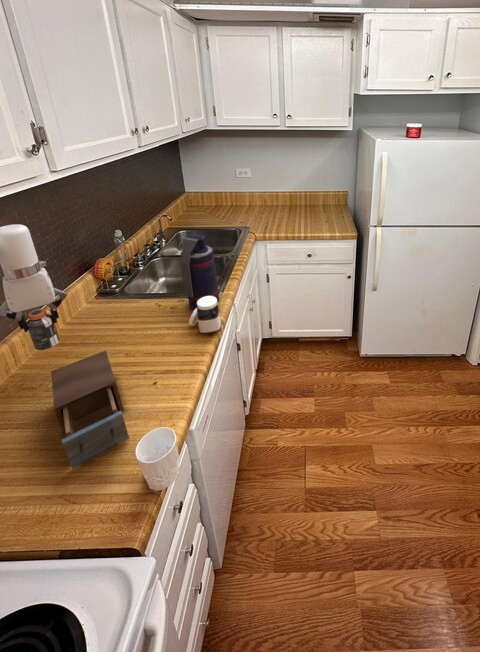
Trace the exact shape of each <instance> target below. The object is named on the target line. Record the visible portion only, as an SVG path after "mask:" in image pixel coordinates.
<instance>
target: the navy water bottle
mask: <svg viewBox="0 0 480 652" xmlns="http://www.w3.org/2000/svg"><path fill="white" fill-rule="evenodd" d="M181 244H182V245H181ZM180 246H181V248H180ZM178 249H179V250H180V251H181V252H180V260H179V261H180V265H179V266H180V269H181V270H180V271H181V279H182V286H183V291H184V296H186V297H187V300H188V306H189V307H190V309H191V308H192V309H194V310H195V309H196V308H197V301H198V300H199V299H200V298H202V297H205V296H214V297H216V298H217V303H218V304H219V301H220V295H219V285H218V278H217V269H216V268H217V267H216V261H215V252H214V248H213V247H212V246H210V245H208V244H207V236H205V235H200V234H195V233H193V234H189V235H185V237H183V238H182V240H181V241H180V242H179V244H178Z"/></svg>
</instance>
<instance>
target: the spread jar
mask: <svg viewBox="0 0 480 652" xmlns="http://www.w3.org/2000/svg"><path fill="white" fill-rule="evenodd" d="M220 310H221V309H220V305H219V302H218V303H217V298H216V297H214V296H205V297H202V298H200V299H199V300H198V301H197V308H196V309H194V310H193V311H192V313H191V315H190V316H189V317H190V318H189V319H188V325H189V326H192V327H194V326H195V325H196V324H198V329H199V332H200V333H201V334H203V335H211V334H214V333H217V332H218V331H220V330H221V327H222V318H221V311H220Z"/></svg>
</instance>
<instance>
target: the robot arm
mask: <svg viewBox="0 0 480 652" xmlns="http://www.w3.org/2000/svg"><path fill="white" fill-rule="evenodd" d="M38 257H39V256H38V254H37V251H36V248H35V245H34V241H33V239H32V236H31V232H30V230H29V227H27V226H26V225H24V224H7V225H3V226H0V267H1V270H2V273H3V275H4V276H3V277H2V287H3V292H4V298H5V301H3V303H2V304H1V306H0V316H2V317H6V318H8V319H11V320H15V322H17V323H18V326H19V329H20V330H23V331H24V333H28V332H29V330H28V327H27V322H28V321H27V319H26V317H25V315H24V314H23V313H24V311H29V310H31V309H34V308H39V307H42V306H47V307H48V308H49V310H50V315H51V316H52V319H53V322H54V323H55V324H57V323H58V319H60V315H59V312H58V308H59V307H60V305H61V304H62V303H63V301H64V300H65V299H66V298H67V297H68V293H67V292H66V291H63V290H61V289H58V288H56V287H54V285H53V282H52V279H51V278H50V275H49V273H48V271H47V269H45V267H46V266H48V264H47V260H43V261H42V260H39V258H38ZM56 296H58V297H57V298H56ZM8 309H9V310H8Z"/></svg>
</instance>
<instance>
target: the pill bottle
mask: <svg viewBox="0 0 480 652" xmlns="http://www.w3.org/2000/svg"><path fill="white" fill-rule="evenodd" d="M27 316H28V320H27V321H26V322H27V327H28V333H29V336H30V339H31V341H32V345H33V348H34V349H35V350H37V351H45V350H48V349H51V348H53V347H55V346H56V345H58V344H59V342H60V336H59V333H58V329H57V327H56V323H54V322H53V319H52V316H51V313H48V312H47V310H46V309H45V308H37V309H33V310H32V311H30V312H29V313H28V314H27Z"/></svg>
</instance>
